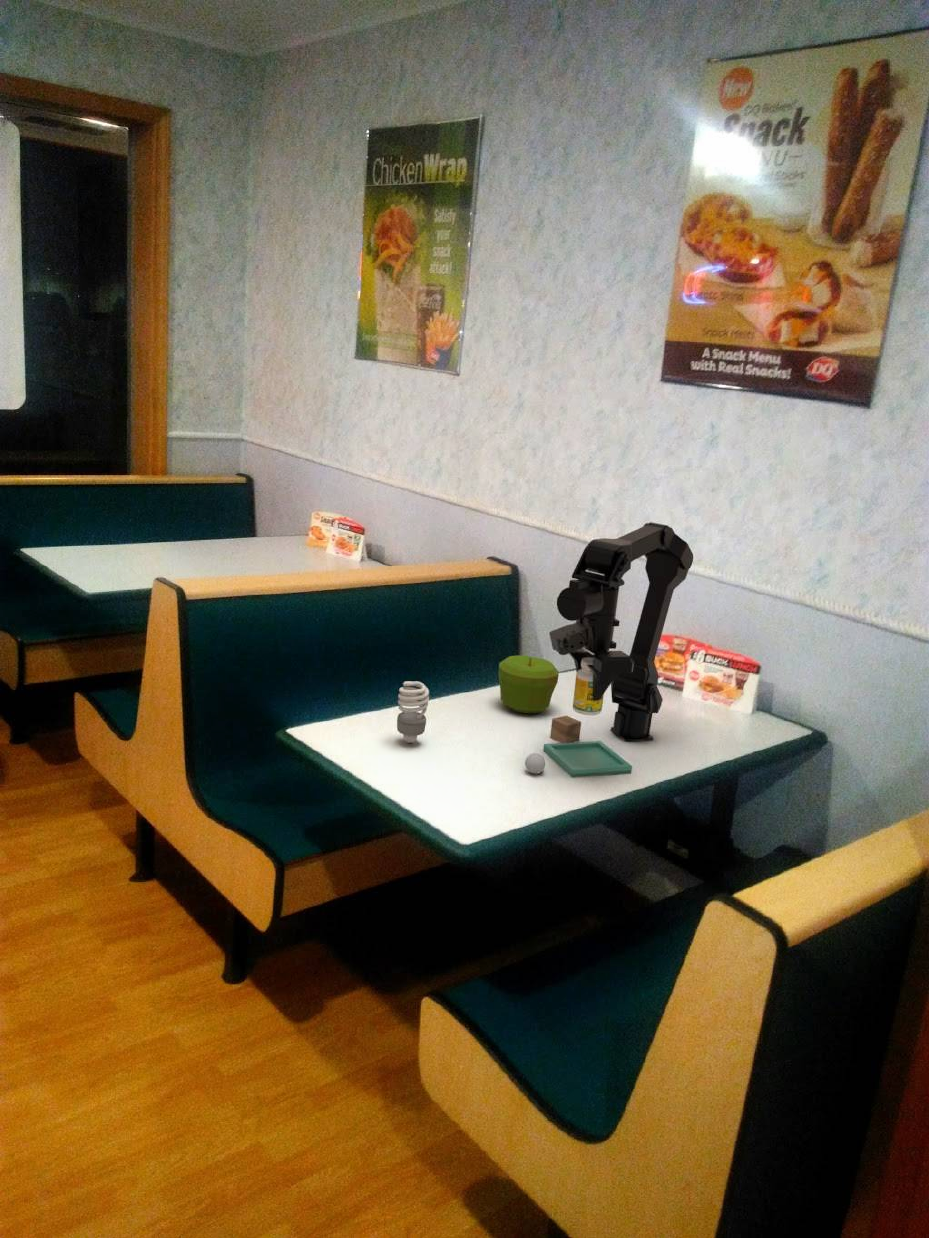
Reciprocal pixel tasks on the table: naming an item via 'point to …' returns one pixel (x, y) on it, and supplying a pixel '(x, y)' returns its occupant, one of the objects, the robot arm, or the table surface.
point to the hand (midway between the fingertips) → (589, 694)
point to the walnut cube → (565, 729)
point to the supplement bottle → (585, 691)
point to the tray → (587, 759)
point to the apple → (527, 683)
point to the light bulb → (412, 710)
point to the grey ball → (535, 763)
